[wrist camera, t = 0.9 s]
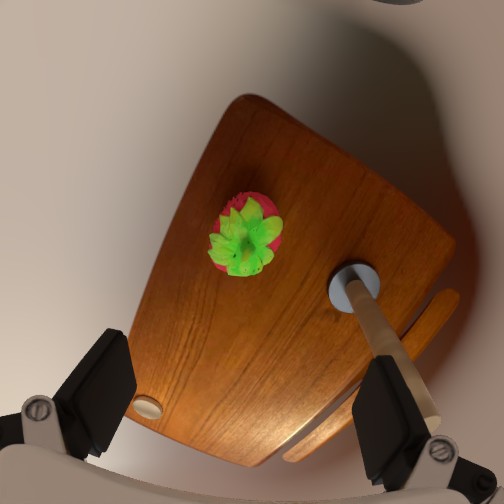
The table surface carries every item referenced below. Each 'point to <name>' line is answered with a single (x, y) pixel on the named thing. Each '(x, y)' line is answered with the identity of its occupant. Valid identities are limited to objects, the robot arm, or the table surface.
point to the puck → (147, 407)
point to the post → (378, 327)
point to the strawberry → (246, 234)
